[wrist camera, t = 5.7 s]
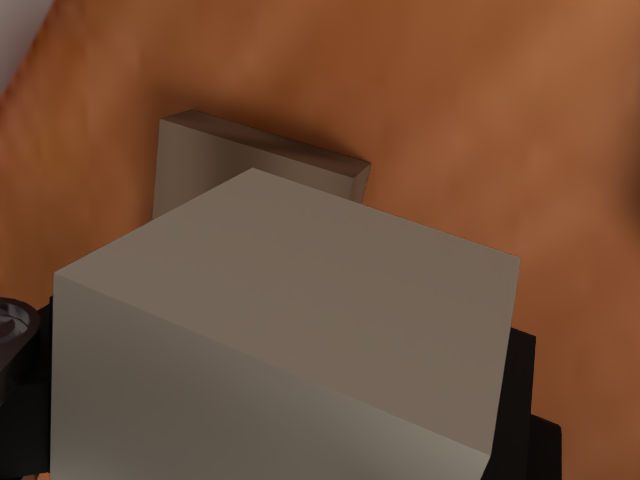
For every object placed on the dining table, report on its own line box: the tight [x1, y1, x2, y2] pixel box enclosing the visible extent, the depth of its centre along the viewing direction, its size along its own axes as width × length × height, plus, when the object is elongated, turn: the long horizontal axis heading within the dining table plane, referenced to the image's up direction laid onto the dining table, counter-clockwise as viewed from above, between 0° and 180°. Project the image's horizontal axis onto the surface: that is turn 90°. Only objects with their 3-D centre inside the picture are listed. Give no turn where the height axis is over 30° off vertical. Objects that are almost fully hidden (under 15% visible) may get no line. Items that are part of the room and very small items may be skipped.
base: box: [152, 110, 371, 220], centre depth 28 cm, size 9×9×3 cm
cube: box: [50, 168, 521, 480], centre depth 9 cm, size 5×5×5 cm
